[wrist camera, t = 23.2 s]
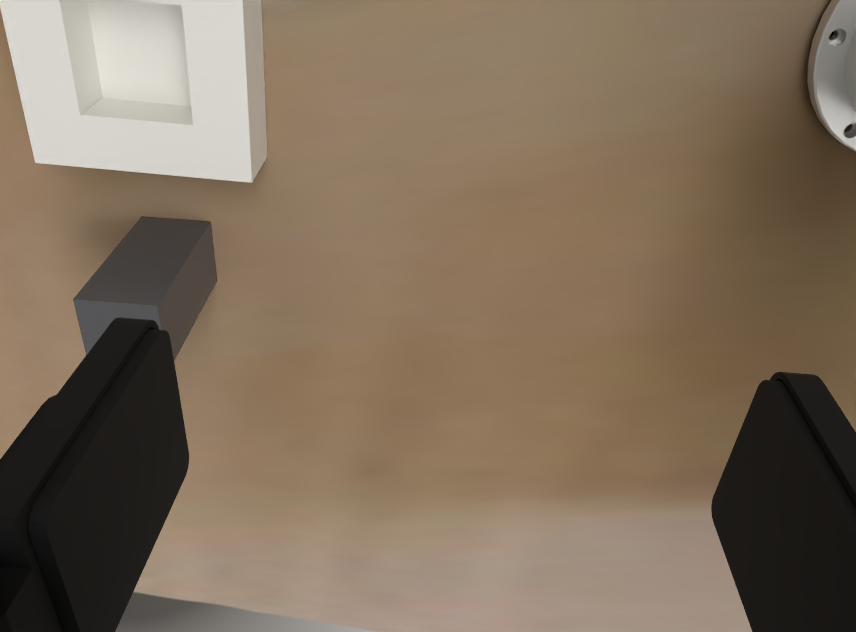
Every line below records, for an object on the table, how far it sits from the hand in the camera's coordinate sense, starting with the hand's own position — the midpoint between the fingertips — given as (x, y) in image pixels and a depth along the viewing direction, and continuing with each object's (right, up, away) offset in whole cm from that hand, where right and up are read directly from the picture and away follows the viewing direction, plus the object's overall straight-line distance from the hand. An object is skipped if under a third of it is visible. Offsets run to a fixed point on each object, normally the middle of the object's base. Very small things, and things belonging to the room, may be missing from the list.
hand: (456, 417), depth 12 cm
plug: (-17, +6, +36) cm, 40 cm away
